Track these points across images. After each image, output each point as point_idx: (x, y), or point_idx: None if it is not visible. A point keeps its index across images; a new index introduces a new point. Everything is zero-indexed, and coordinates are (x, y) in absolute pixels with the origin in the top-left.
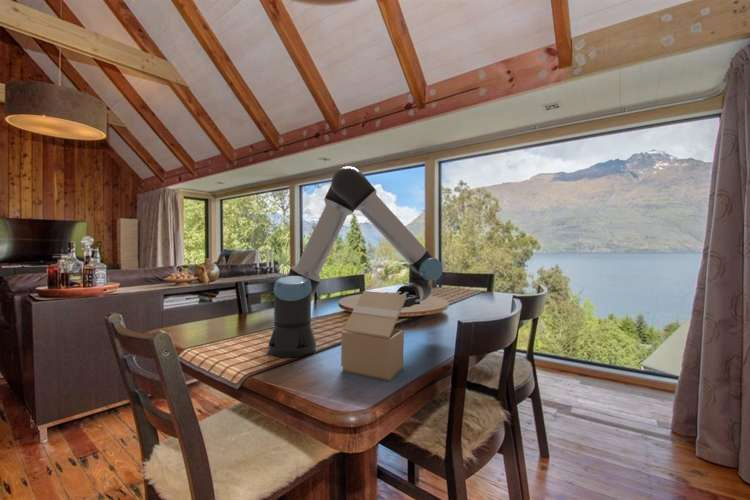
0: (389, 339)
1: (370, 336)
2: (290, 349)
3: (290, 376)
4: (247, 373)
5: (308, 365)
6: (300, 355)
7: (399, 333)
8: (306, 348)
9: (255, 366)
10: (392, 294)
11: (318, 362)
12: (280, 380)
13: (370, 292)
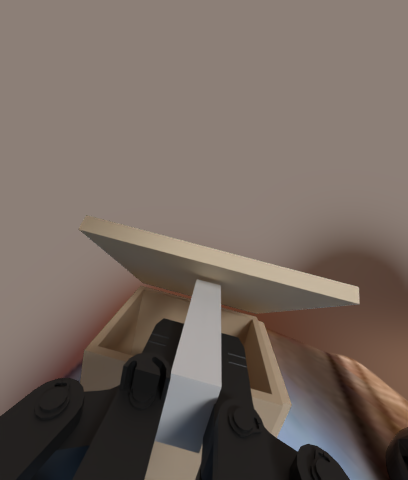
0: (141, 286)
1: (187, 298)
2: (400, 432)
3: (287, 357)
4: (339, 357)
5: (312, 409)
6: (387, 463)
7: (110, 320)
8: (404, 474)
9: (365, 382)
10: (168, 239)
11: (315, 436)
12: (285, 345)
13: (306, 276)
